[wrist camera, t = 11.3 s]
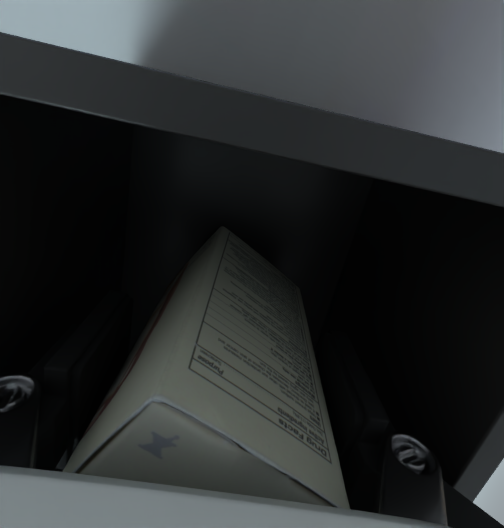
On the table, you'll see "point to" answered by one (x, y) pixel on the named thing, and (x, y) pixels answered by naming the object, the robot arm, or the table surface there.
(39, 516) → the robot arm
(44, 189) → the case
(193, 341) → the cream medicine box
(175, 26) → the table surface
